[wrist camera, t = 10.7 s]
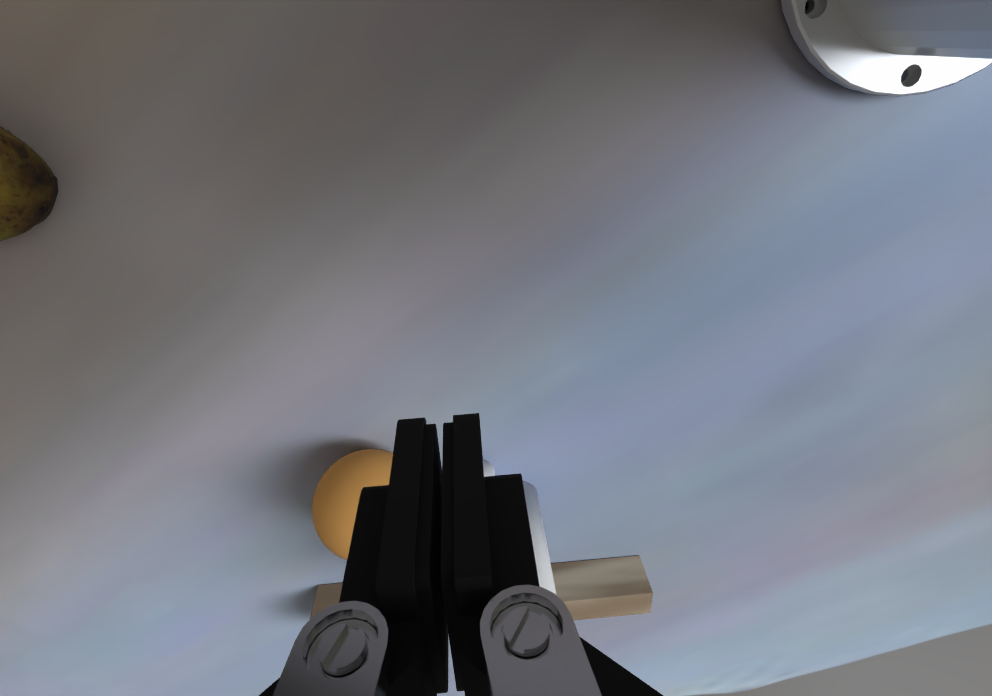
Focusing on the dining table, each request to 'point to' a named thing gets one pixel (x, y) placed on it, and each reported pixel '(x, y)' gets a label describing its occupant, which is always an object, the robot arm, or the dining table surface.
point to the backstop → (573, 588)
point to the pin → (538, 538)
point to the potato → (23, 187)
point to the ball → (346, 495)
